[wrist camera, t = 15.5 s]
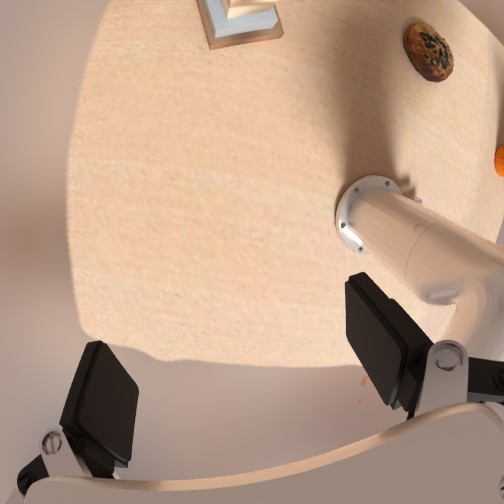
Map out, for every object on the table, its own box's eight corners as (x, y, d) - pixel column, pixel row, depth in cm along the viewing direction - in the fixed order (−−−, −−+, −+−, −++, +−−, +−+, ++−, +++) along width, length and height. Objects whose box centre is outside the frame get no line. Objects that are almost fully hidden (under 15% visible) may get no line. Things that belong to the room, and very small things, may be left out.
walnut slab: (261, -11, 24) (266, -21, 22) (278, 40, 28) (284, 33, 26) (195, -1, 24) (195, -10, 21) (210, 51, 28) (210, 45, 25)
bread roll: (410, 81, 32) (431, 75, 27) (390, 22, 28) (408, 12, 23) (451, 86, 33) (470, 82, 28) (433, 32, 29) (451, 25, 24)
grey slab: (257, -14, 22) (262, -24, 19) (272, 28, 25) (278, 20, 22) (201, -5, 22) (201, -15, 19) (215, 38, 25) (215, 30, 22)
